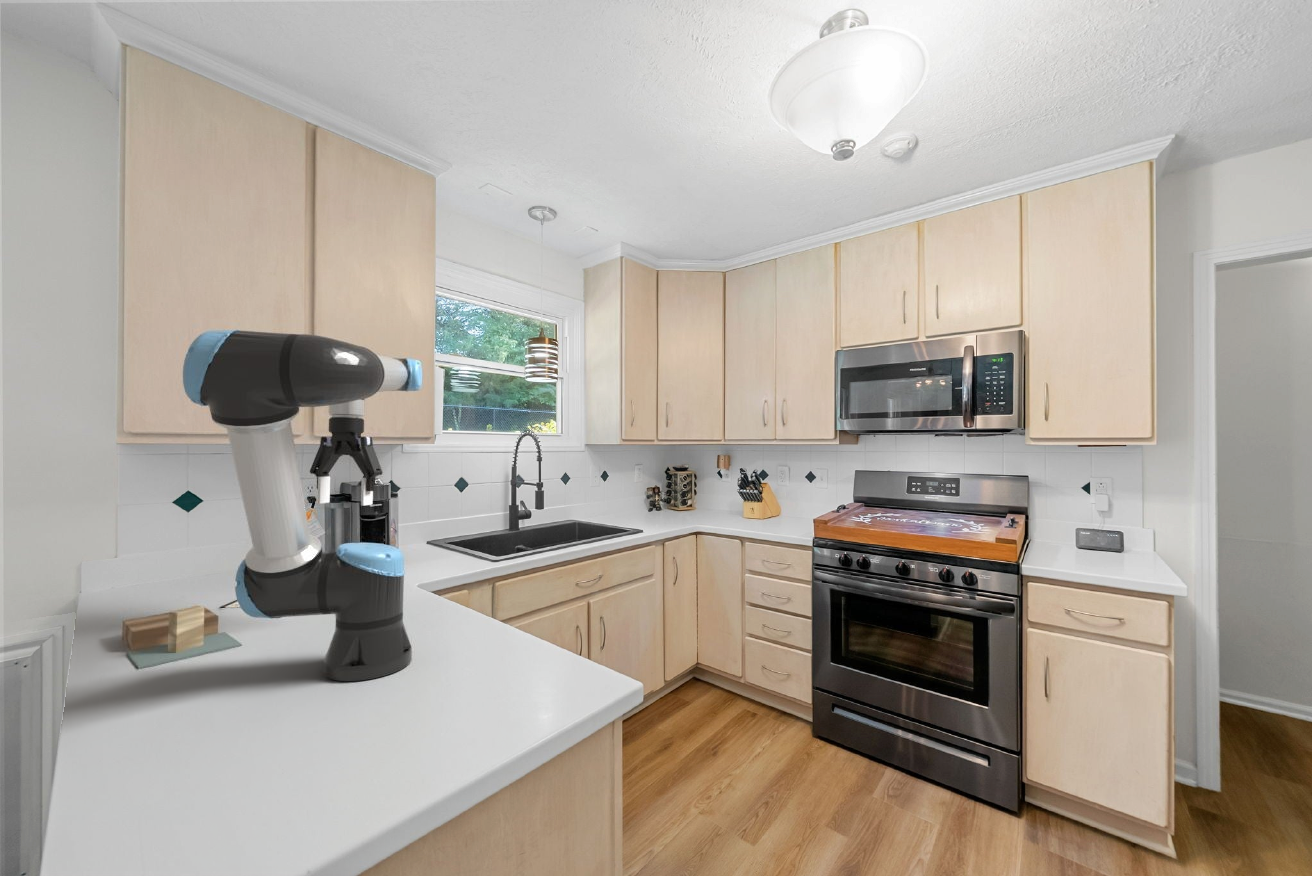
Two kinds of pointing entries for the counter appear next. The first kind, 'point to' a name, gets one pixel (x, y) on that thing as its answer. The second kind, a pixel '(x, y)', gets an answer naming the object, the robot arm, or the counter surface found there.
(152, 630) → the walnut block
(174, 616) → the birch block
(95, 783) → the counter surface
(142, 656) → the rubber mat
